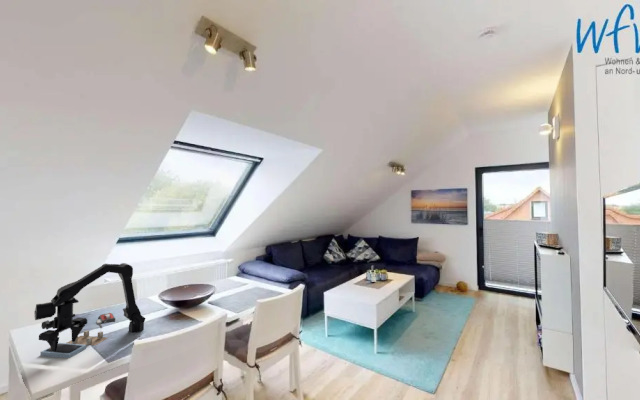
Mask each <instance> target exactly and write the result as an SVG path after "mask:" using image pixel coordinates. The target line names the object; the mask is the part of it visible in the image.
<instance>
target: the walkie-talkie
mask: <svg viewBox="0 0 640 400" xmlns="http://www.w3.org/2000/svg"><path fill="white" fill-rule="evenodd" d="M105 323H116V317H115V316H114V314H113V313H112V312H106V313H103V314H100V315H99V316H98V317H97V320H96V324H97V325H98V326H99V328H100V329H103V326H102V324H105Z"/></svg>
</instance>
